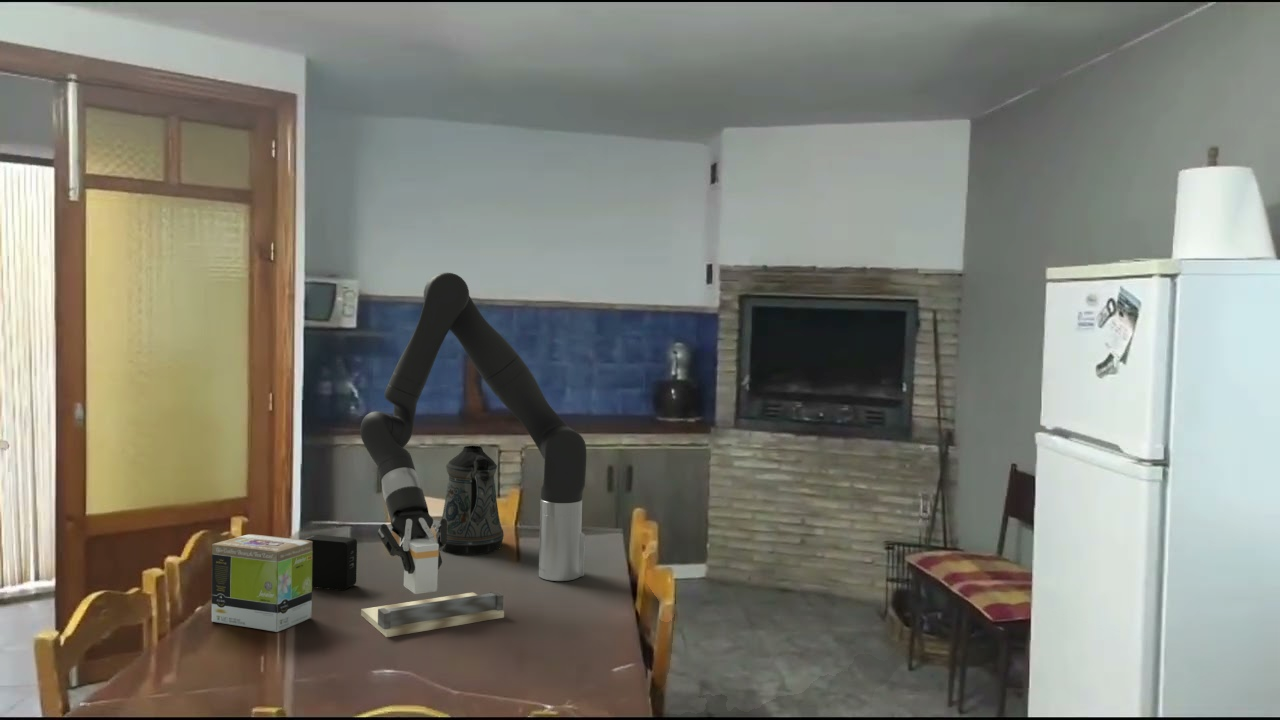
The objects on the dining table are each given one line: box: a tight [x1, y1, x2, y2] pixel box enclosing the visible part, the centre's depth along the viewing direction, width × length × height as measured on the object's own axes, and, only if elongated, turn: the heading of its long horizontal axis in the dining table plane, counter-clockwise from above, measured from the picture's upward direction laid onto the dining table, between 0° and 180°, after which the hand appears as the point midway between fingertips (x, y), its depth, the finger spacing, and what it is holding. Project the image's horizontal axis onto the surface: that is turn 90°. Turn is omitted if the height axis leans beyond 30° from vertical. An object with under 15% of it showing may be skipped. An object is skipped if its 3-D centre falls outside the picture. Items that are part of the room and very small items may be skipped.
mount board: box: [360, 590, 505, 638], centre depth 178 cm, size 23×14×4 cm, turn 125°
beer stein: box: [435, 445, 505, 556], centre depth 231 cm, size 16×19×25 cm
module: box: [403, 538, 440, 595], centre depth 180 cm, size 4×6×9 cm
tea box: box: [211, 533, 313, 633], centre depth 173 cm, size 15×10×15 cm, turn 71°
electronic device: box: [304, 534, 358, 591], centre depth 196 cm, size 4×10×10 cm, turn 79°
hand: (424, 569), depth 179 cm, fingers closed on module, 4 cm apart
